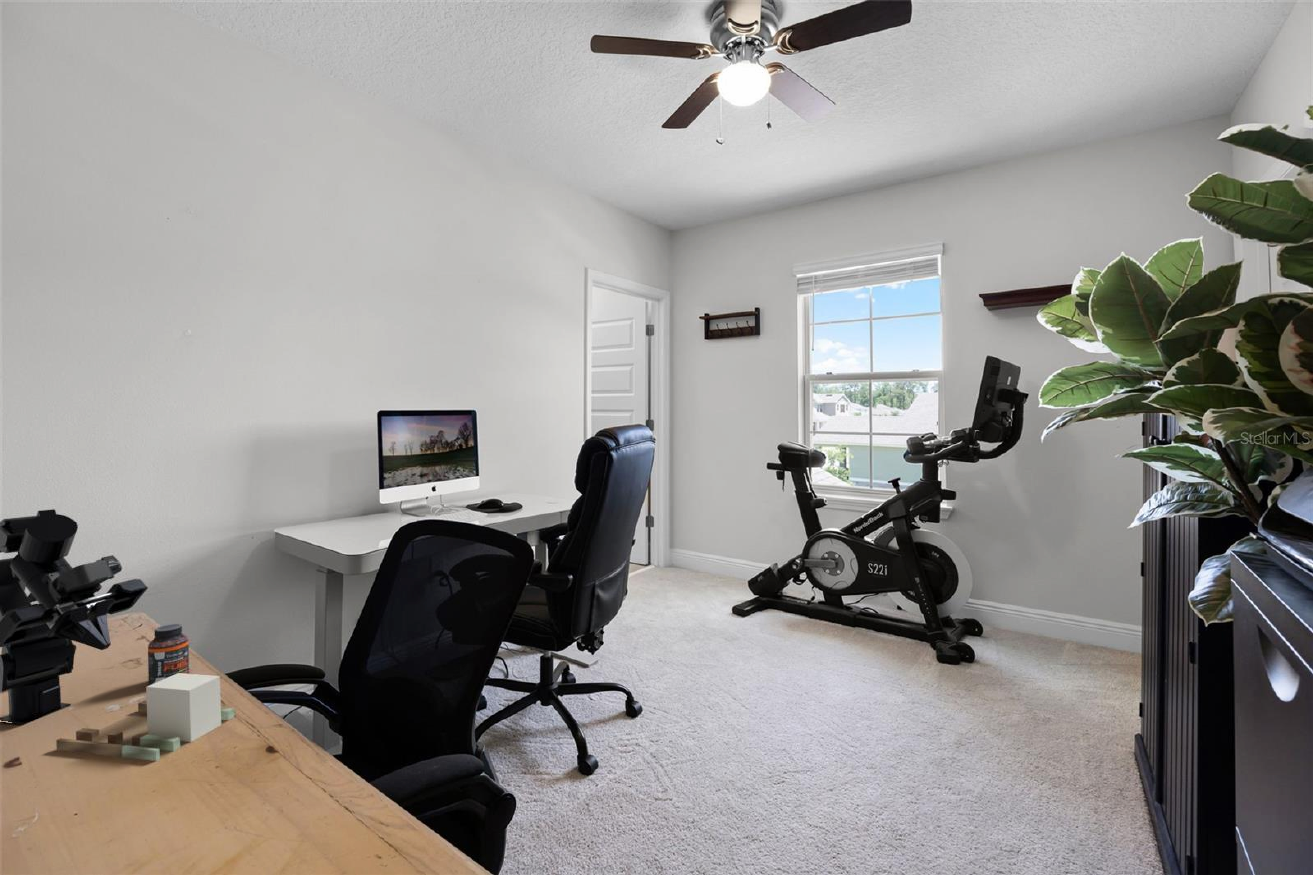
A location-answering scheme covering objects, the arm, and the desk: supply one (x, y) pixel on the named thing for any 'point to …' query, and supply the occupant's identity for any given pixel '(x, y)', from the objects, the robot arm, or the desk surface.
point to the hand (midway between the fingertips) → (106, 647)
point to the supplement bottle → (167, 653)
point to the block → (184, 706)
